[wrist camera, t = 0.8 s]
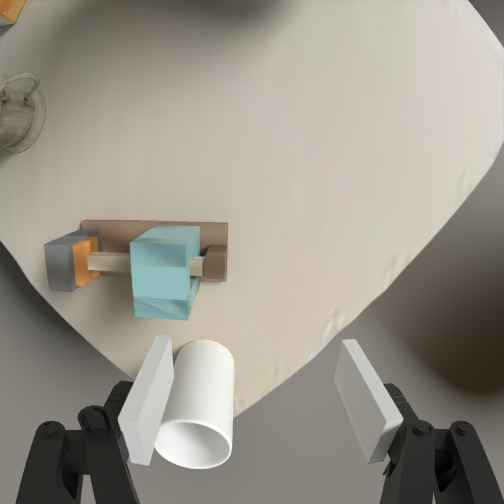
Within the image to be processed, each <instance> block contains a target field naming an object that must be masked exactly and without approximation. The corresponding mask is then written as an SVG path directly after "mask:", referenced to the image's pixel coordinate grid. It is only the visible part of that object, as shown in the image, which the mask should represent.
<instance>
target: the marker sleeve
mask: <svg viewBox="0 0 504 504" xmlns="http://www.w3.org/2000/svg"><path fill="white" fill-rule="evenodd" d="M192 256H200V226H173V225H156V226H154V227H153V228H151V229H150V230H148V231H146V232H145V233H143V234H142V235H140V236H139V237H137V238H136V239H134V240H133V241H131V242H130V257H131V274H132V288H133V300H134V311H135V316H136V317H147V318H159V319H172V320H188V317H189V314H190V311H191V308H192V306H193V303H194V300H195V297H196V295H197V292H198V289H199V286H200V276H190V260H191V258H192Z"/></svg>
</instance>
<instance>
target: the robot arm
mask: <svg viewBox="0 0 504 504" xmlns="http://www.w3.org/2000/svg"><path fill="white" fill-rule="evenodd" d="M173 380H174V368H173V357H172V345H171V336H166V335H157V336H156V338H155V340H154V342H153V344H152V346H151V348H150V350H149V352H148V354H147V356H146V358H145V360H144V363H143V365H142V367H141V369H140V371H139V373H138V375H137V377H136V380H135V382H128V381H120V382H119V383H118V384H117V385H115V386H114V387H113V389H112V391H111V393H110V395H109V397H108V399H107V401H106V403H105V405H104V406H103V407H101V406H93V405H92V406H89V407H85V408H84V409H82V410H81V411H80V413H79V414H78V421H79V423H80V426H81V429H82V430H65V428H64V426H63V425H62V424H61V423H59V422H56V421H47V422H44V423H42V424H41V425H40V426H39V427H38V428H37V430H36V433H35V436H34V439H33V442H32V446H31V449H30V452H29V455H28V458H27V462H26V465H25V469H24V472H23V476H22V480H21V483H20V487H19V492H18V495H17V500H16V504H80V501H81V491H82V482H83V475H84V474H85V475H90V478H91V483H92V487H93V492H94V497H95V501H96V504H140V501H139V499H138V496H137V493H136V490H135V487H134V485H133V481H132V478H131V475H130V472H129V469H128V466H127V463H126V462H127V459H128V457H130V459H131V462H132V463H137V464H143V465H149V463H150V460H151V456H152V453H153V449H154V445H155V442H156V438H157V435H158V431H159V428H160V424H161V421H162V417H163V414H164V410H165V407H166V403H167V400H168V397H169V393H170V390H171V387H172V383H173ZM334 381H335V384H336V386H337V388H338V391H339V393H340V396H341V398H342V401H343V403H344V406H345V408H346V410H347V413H348V415H349V418H350V420H351V423H352V425H353V428H354V430H355V433H356V435H357V438H358V440H359V443H360V446H361V448H362V451H363V453H364V456H365V458H366V461H367V463H368V464H370V463H376V462H382V461H384V459H385V457H386V455H387V453H388V455H389V457H390V459H391V460H390V462H389V463H388V465H387V467H386V469H385V471H384V473H383V475H385V474H386V477H385V483H384V487H383V492H382V496H381V500H380V504H432V500H433V492H434V497H435V502H436V504H504V500H503V498H502V494H501V492H500V489H499V486H498V483H497V481H496V478H495V476H494V473H493V470H492V468H491V465H490V463H489V460H488V458H487V456H486V453H485V451H484V449H483V446H482V444H481V442H480V439H479V437H478V435H477V433H476V430H475V429H474V427H473V426H472V425H471V424H470V423H468V422H466V421H456V422H454V423H452V424H451V426H450V428H449V429H434V427H433V426H432V425H431V424H430V423H428V422H427V421H423V420H419V419H418V417H417V416H416V414H415V413H414V411H413V409H412V408H411V406H410V405H409V403H408V402H407V400H406V399H405V397H403V394H402V392H401V391H400V389H399V388H397V387H396V386H395V385H393V384H392V383H390V384H382V382H381V381H380V379H379V377H378V375H377V374H376V372H375V370H374V369H373V367H372V366H371V364H370V362H369V361H368V359H367V358H366V356H365V355H364V353H363V351H362V349H361V348H360V346H359V345H358V343H357V342H356V340H355V339H352V340H351V339H349V340H342V343H341V348H340V354H339V359H338V363H337V368H336V373H335V378H334Z"/></svg>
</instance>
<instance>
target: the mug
mask: <svg viewBox="0 0 504 504" xmlns="http://www.w3.org/2000/svg"><path fill="white" fill-rule="evenodd" d="M23 78H29V79H33V80H35V82H36V83H35V85H34V86H33V87H32V88H30V87H26V88H23V89H20V90H16V89H12V88H8V87H5V86H6V85H7V84H9V83H11V82H13V81H16V80H19V79H23ZM39 81H40V80H39V78H38V77H37V76H36V75H34V74H32V73H19V74H16V75H14V76H11V77H9V78H8V79H7V77H6V76H5V75H3V76H1V77H0V146H2V147H4V148H5V149H6V150H7V151H9V152H12V153H19V152H23V151H25V150H26V149H28V148H29V147H30V146H31V145H32V144H33V143H34V142H35V141H36V139H37V137H38V136H39V134H40V132H41V130H42V127H43V124H44V121H45V111H46V108H45V101H44V98H43V97H42V95H41V93H40V92H39V91H38V90H36V89H37V87H38V85H39Z"/></svg>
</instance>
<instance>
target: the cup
mask: <svg viewBox="0 0 504 504" xmlns="http://www.w3.org/2000/svg"><path fill="white" fill-rule="evenodd" d="M233 391H234V360H233V357H232V355H231V353H230V352H229V351H228V350H227V349H226V348H225V347H224V346H222V345H221V344H219V343H217V342H214V341H210V340H195V341H192V342H189V343H187V344H186V345H184V346H183V347H182V348H181V350H180V351H179V353H178V355H177V358H176V361H175V365H174V380H173V383H172V387H171V390H170V393H169V397H168V400H167V403H166V407H165V410H164V414H163V417H162V421H161V424H160V428H159V431H158V435H157V438H156V442H155V445H154V447H155V449H156V450H157V452H159V454H160V455H162V456H163V457H164V458H165V459H167V460H168V461H170V462H172V463H174V464H177V465H179V466H183V467H187V468H194V469H206V468H212V467H215V466H218V465H220V464H222V463H224V462H225V461H226V460H227V459H228V458H229V456H230V454H231V450H232V425H233V424H232V423H233Z"/></svg>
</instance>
